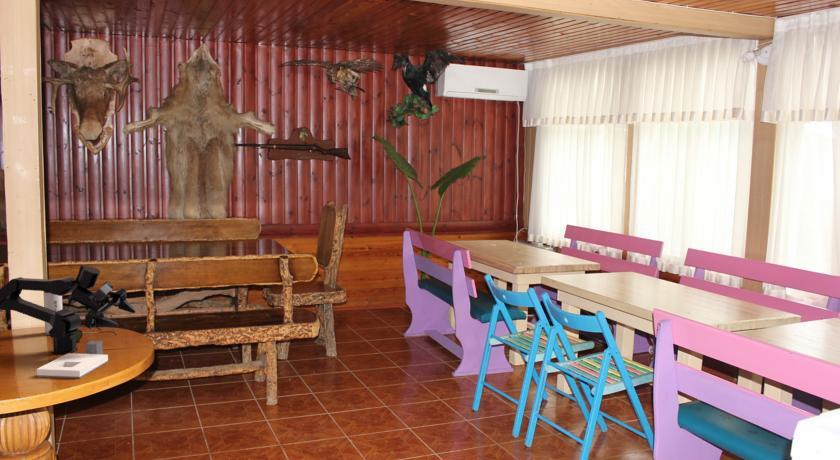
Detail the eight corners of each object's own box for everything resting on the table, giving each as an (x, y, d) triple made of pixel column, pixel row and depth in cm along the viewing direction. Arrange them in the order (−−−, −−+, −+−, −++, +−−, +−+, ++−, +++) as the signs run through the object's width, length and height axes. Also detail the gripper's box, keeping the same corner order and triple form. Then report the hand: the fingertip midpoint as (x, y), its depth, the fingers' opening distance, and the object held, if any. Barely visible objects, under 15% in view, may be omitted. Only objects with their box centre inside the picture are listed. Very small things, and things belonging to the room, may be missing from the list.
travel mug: (48, 331, 280) (46, 281, 278) (65, 331, 281) (64, 281, 279) (41, 335, 274) (39, 284, 272) (59, 335, 275) (57, 284, 272)
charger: (85, 357, 246) (85, 343, 246) (91, 354, 250) (91, 340, 249) (96, 358, 246) (96, 344, 245) (102, 354, 250) (102, 341, 249)
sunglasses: (62, 337, 273) (63, 324, 273) (99, 333, 285) (100, 321, 285) (81, 344, 264) (82, 330, 264) (119, 339, 276) (119, 326, 276)
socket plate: (36, 376, 224) (36, 369, 224) (68, 360, 242) (67, 353, 242) (79, 378, 224) (79, 370, 223) (107, 361, 242) (107, 354, 241)
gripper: (72, 295, 237) (112, 316, 236) (109, 268, 253) (146, 288, 252) (69, 319, 243) (108, 340, 242) (105, 291, 259) (142, 311, 258)
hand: (126, 318), depth 248 cm, fingers open, 9 cm apart
